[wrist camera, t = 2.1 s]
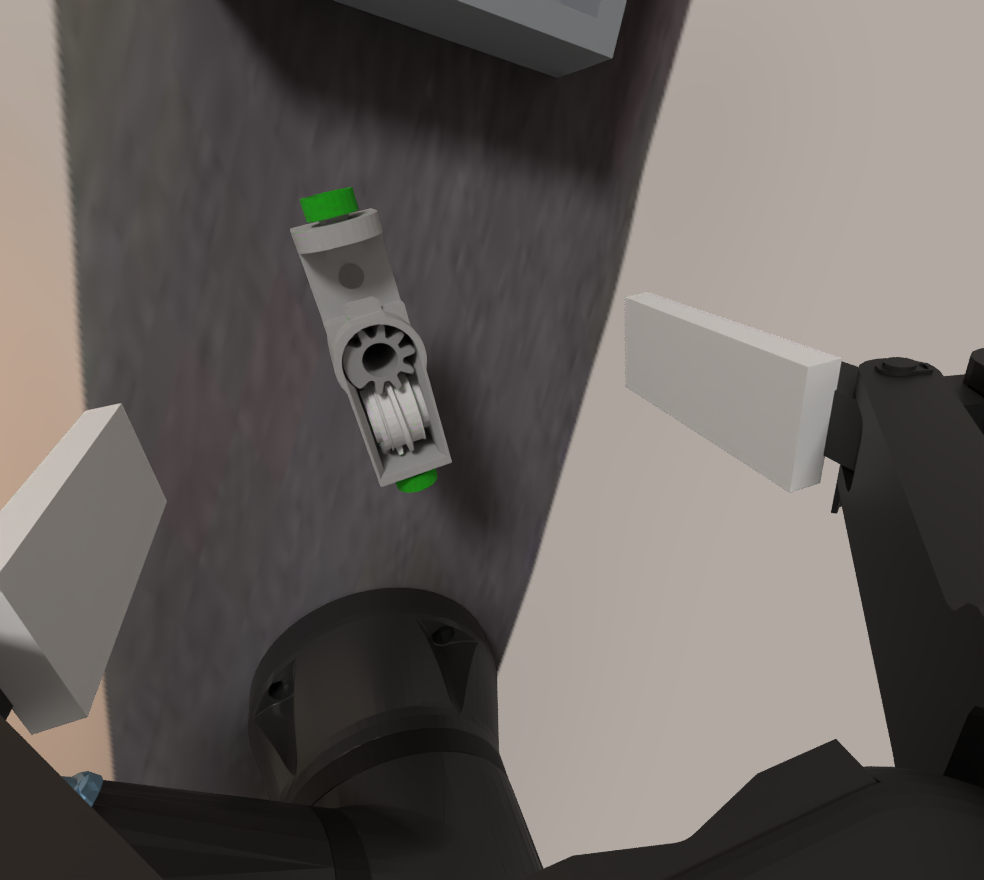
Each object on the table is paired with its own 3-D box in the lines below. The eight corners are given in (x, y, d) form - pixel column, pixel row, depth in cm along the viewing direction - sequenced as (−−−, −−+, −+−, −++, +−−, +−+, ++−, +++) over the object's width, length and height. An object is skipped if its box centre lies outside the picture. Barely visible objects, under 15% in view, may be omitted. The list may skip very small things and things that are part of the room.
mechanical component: (347, 179, 25) (379, 181, 16) (409, 391, 30) (461, 479, 21) (278, 195, 24) (274, 207, 16) (354, 408, 29) (383, 507, 20)
